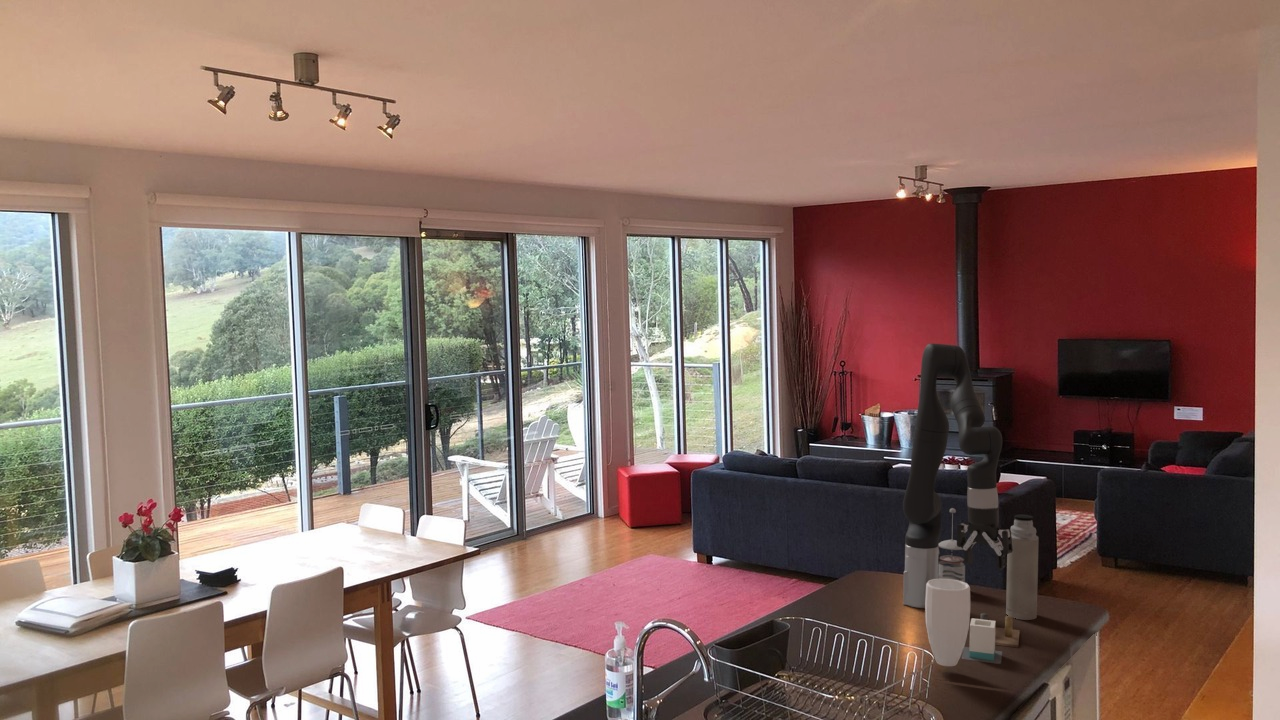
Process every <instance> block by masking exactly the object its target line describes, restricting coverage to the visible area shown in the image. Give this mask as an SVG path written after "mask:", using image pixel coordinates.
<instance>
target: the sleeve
mask: <svg viewBox="0 0 1280 720" xmlns="http://www.w3.org/2000/svg"><path fill="white" fill-rule="evenodd" d="M995 627H996V620H991V619H989V620H983V619H980V618H973V617H972V618H970V622H969V646H968V647H969V657H970V658H978V659H986V660H993V661H994V655H995V651H996V645H995Z"/></svg>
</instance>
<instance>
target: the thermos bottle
mask: <svg viewBox="0 0 1280 720" xmlns="http://www.w3.org/2000/svg"><path fill="white" fill-rule="evenodd" d="M1013 519H1014V520H1013V525H1011V526H1010V530H1011V536H1012V547H1013V552H1012V553H1009V554H1006V555H1007V556H1006V591H1005V592H1006V593H1005V594H1006V596H1005V600H1006V601H1005V603H1006V605H1005V614H1007V615H1008V616H1011V617H1013V619H1015V618H1016V620H1022V621H1023V620H1025V621H1029V620H1030V621H1031V620H1035V619H1037V617H1038V585H1039V584H1038V580H1039V579H1038V577H1039V543H1040V542H1039V535H1037V533H1038V532H1037V529H1036V527H1035V526H1034V522H1033V520H1034V516H1033V515H1029V514H1015V515H1014V517H1013ZM1007 615H1006V616H1007Z"/></svg>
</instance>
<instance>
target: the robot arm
mask: <svg viewBox="0 0 1280 720" xmlns="http://www.w3.org/2000/svg"><path fill="white" fill-rule="evenodd" d="M920 365H921V366H920V368H921V369H920V381H919V382H920V385H919V396H918V397H919V398H918V407H917V413H916V419H915V423H914V432H913V439H912V440H913V441H912V449H911V458H910V470H909V477H908V482H907V485H906V490H905V493H904V497H903V502H902V510H903V513H904V516H905V519H907V521H908V523H909V524H908V528H907V531H906V533H905V538H904V543H905V545H904V571H903V576H902V577H903V578H902V579H903V583H902V584H903V585H902V586H903V587H902V588H903V590H902V591H903V595H902V604H903V605H905V606H909V607H913V608H917V609H925V597H926V584H927V582H928V581H930V580H933V579H938V566H939V554H938V549H939V548H940V547H939V543H940V542H939V541H940V537H941V532H942V514H943V512H942V511H943V506H942V501H941V497H940V496H939V494H938V493H937V492H936V491H935V484H936V478H937V475H938V472H939V469H940V466H941V464H942V461H943V459H944V457H945V456H944V455H945V453H946V450H947V446H948V438H949V430H950V422H949V419H948V417H947V414H946V412H945V410H944V408H943V406H942V404H941V402H940V399H939V396H938V391H937V390H938V389H937V378H939V377H940V378H949V379H950V378H952V379H954V381H955V382H956V386H955V388H954V389H953V393H952V394H951V397H950V408H951V411H952V413H953V415H954V417H955V420H956V422H957V429H958V445H959V448H960V450H961V451H962V452H963V453H964V454H965V455H968V456H975V455H977V456H978V455H984V456H983V458H982V460H980V461H978V462H975V463H971V464H969V465H968V467H967V471H966V475H967V477H966V478H967V492H966V501H967V502H966V503H967V505H966V506H967V521H968V524H966V523H964V522H962V523H960V524H957V525H956V541H957V546H958V547H961V548H963V553H964V555H963V556H964V558H963V559H964V562H965V565H967V566H970V565H973V563H974V553H973V550H974V549H972V548H973V547H974V546H975V544H980V545H981V544H983V545H987V546H990V548H992V549H993V550H994V552H995V553H996V570H997V571H1002V570H1004V568H1006V566H1007V563H1006V555H1007V554H1009V553H1012V552H1013V547H1012V536H1011V530H1010V529H1011V528H1010V529H1009V528H1008V529H1000V526H999V523H1000V518H999V517H1000V516H999V515H1000V514H999V513H1000V512H999V495H998V494H999V493H998V488H997V468H998V464H999V459H1000V455H1001V452H1002V447H1003V436H1002V435H1003V434H1002V432H1001V431H1000V430H999V429H998V428H997V427H996V426H993V425H992V426H983V425H984V424H985V422H986V416H985V413H984V411H983V409H982V407H981V405H980V403H979V400H978V398H977V396H976V395H977V394H976V393H975V392H976V391H975V389H974V384H973V381H972V375H971V370H970V367H969V361H968V358H967V355H966V353H965V351H964V349H963V348H962V346H961V347H960V346H959V345H956V344H955V345H954V344H945V343H944V344H943V343H942V344H941V343H932V342H930V343H928V344H926V346H925V348H924V349H923V352H922V357H921V364H920ZM967 532H968V533H969V535H970V536H969V537H968V539H967ZM999 536H1000V538H1001V540H1002V541H1001V540H1000V538H999ZM939 550H940V549H939Z"/></svg>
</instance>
